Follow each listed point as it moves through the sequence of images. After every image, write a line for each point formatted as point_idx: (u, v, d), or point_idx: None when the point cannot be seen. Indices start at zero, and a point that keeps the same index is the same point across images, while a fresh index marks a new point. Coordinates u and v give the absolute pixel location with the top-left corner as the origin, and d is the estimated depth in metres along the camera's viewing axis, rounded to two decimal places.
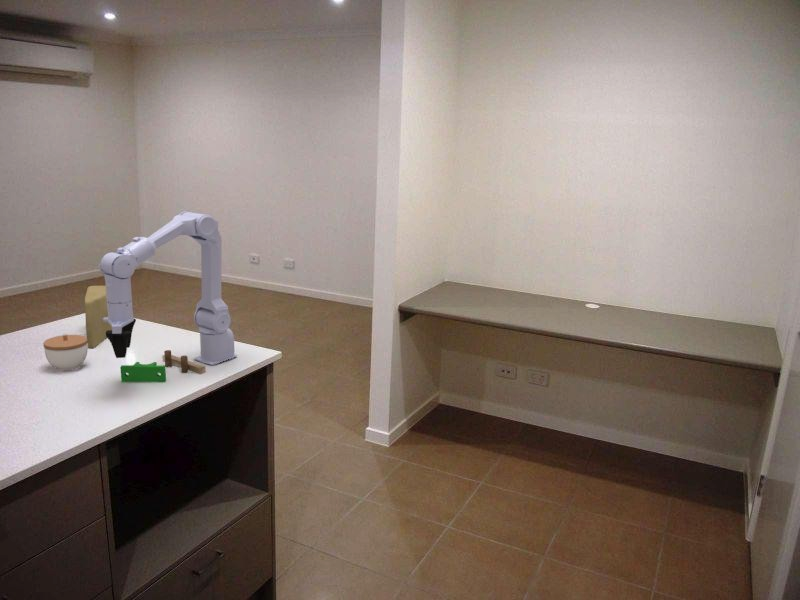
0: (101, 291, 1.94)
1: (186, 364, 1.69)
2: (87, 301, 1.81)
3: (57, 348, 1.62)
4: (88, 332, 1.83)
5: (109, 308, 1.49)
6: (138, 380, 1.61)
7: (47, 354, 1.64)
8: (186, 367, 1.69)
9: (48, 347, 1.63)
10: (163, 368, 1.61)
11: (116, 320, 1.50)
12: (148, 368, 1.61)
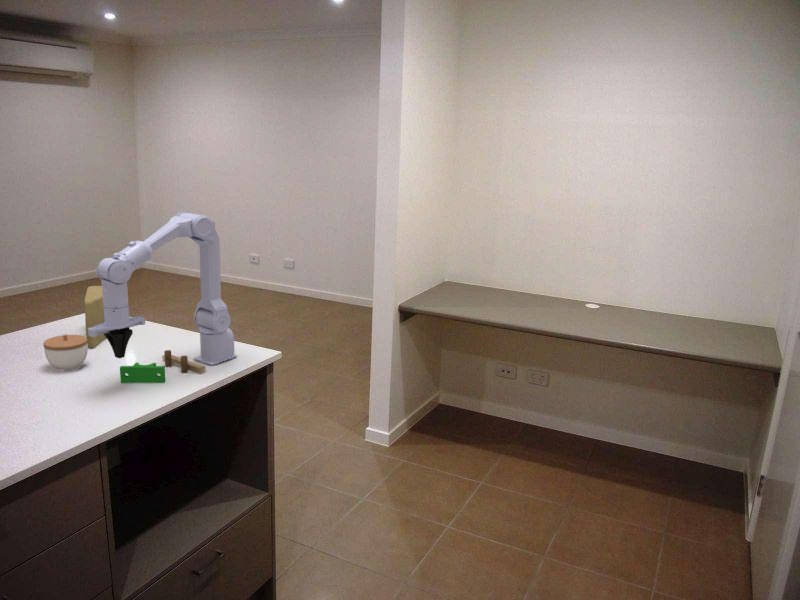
0: (101, 291, 1.94)
1: (186, 364, 1.69)
2: (87, 301, 1.81)
3: (57, 348, 1.62)
4: None
5: None
6: (137, 381, 1.61)
7: (47, 354, 1.64)
8: (186, 367, 1.69)
9: (48, 347, 1.63)
10: (162, 369, 1.61)
11: (105, 324, 1.51)
12: (147, 369, 1.60)
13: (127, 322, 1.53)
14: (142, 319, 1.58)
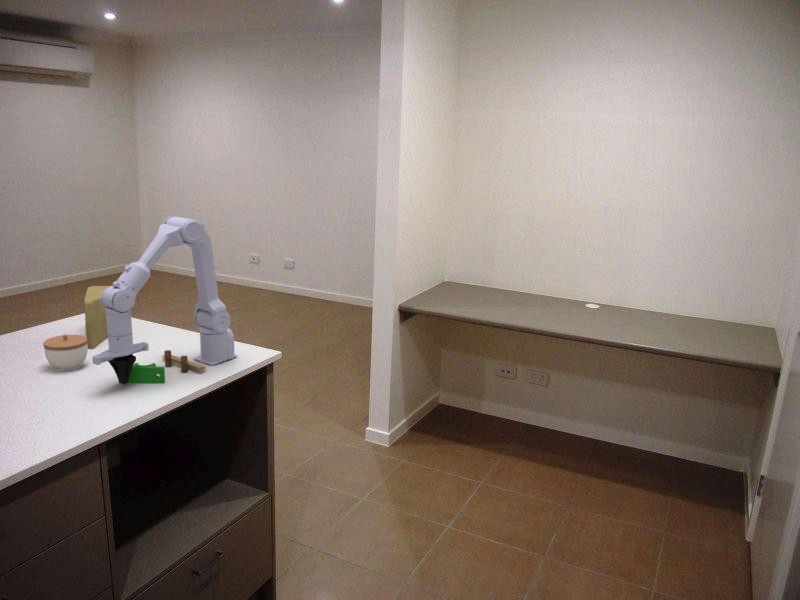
0: (101, 291, 1.94)
1: (186, 364, 1.69)
2: (87, 301, 1.81)
3: (57, 348, 1.62)
4: (88, 332, 1.82)
5: None
6: (137, 381, 1.60)
7: (47, 354, 1.64)
8: (186, 367, 1.69)
9: (48, 347, 1.63)
10: (162, 369, 1.60)
11: (109, 351, 1.53)
12: (147, 369, 1.60)
13: (131, 349, 1.55)
14: (145, 345, 1.60)
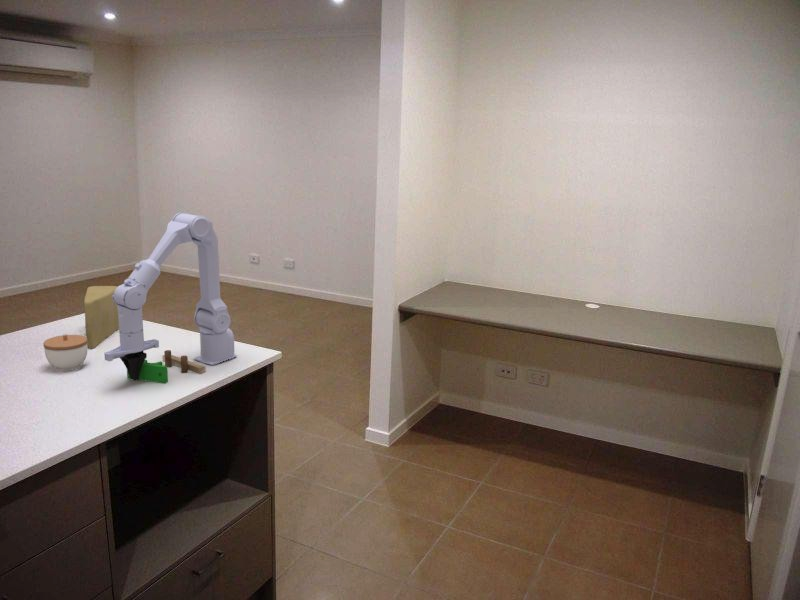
0: (101, 291, 1.94)
1: (186, 364, 1.69)
2: (87, 301, 1.81)
3: (57, 348, 1.62)
4: (88, 333, 1.82)
5: None
6: (142, 378, 1.62)
7: (47, 354, 1.64)
8: (186, 367, 1.69)
9: (48, 347, 1.63)
10: (164, 368, 1.60)
11: (121, 348, 1.56)
12: (151, 367, 1.61)
13: (142, 346, 1.57)
14: (156, 342, 1.63)
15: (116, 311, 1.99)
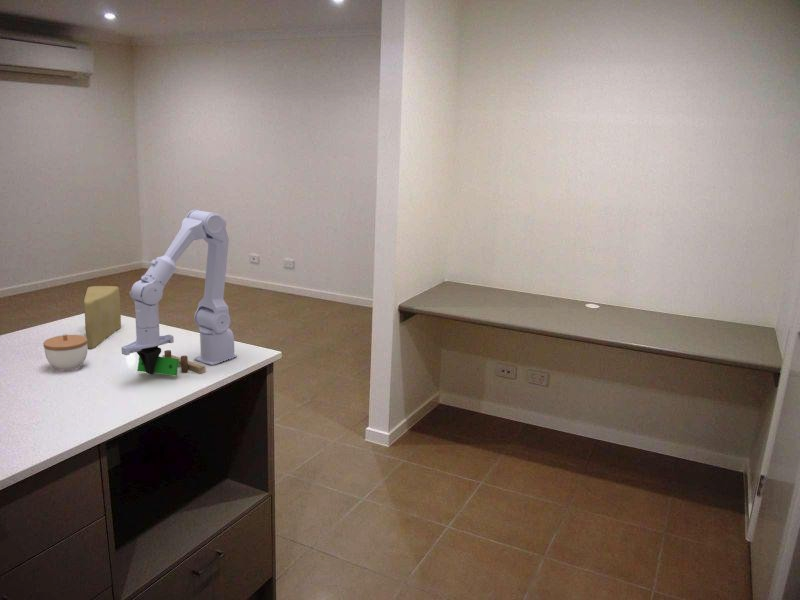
0: (101, 292, 1.94)
1: (186, 364, 1.69)
2: (86, 302, 1.81)
3: (57, 348, 1.62)
4: (87, 333, 1.82)
5: None
6: None
7: (47, 354, 1.64)
8: (186, 367, 1.69)
9: (48, 347, 1.63)
10: (176, 360, 1.64)
11: (137, 342, 1.60)
12: (163, 359, 1.64)
13: (158, 341, 1.61)
14: (171, 337, 1.67)
15: (116, 311, 1.99)
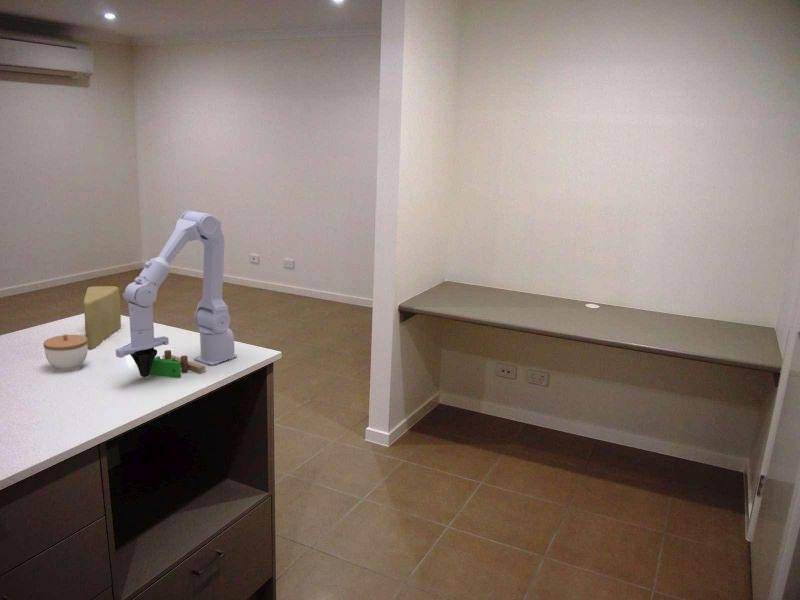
0: (101, 292, 1.93)
1: (186, 364, 1.69)
2: (86, 302, 1.81)
3: (57, 348, 1.62)
4: (87, 333, 1.82)
5: None
6: (155, 374, 1.66)
7: (47, 354, 1.64)
8: (186, 367, 1.69)
9: (48, 347, 1.63)
10: (177, 364, 1.64)
11: (132, 344, 1.58)
12: (164, 363, 1.65)
13: (152, 343, 1.60)
14: (166, 339, 1.65)
15: (116, 311, 1.99)
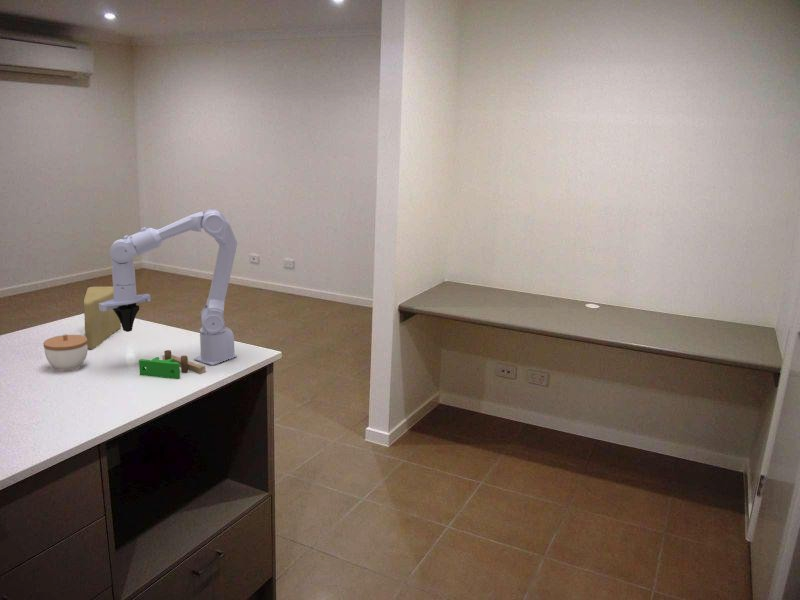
0: (101, 292, 1.93)
1: (186, 364, 1.69)
2: (86, 302, 1.80)
3: (57, 348, 1.62)
4: (87, 333, 1.81)
5: None
6: (154, 375, 1.65)
7: (47, 354, 1.64)
8: (186, 367, 1.69)
9: (48, 347, 1.63)
10: (176, 365, 1.64)
11: (114, 300, 1.65)
12: (163, 364, 1.64)
13: (134, 298, 1.67)
14: (148, 296, 1.72)
15: None
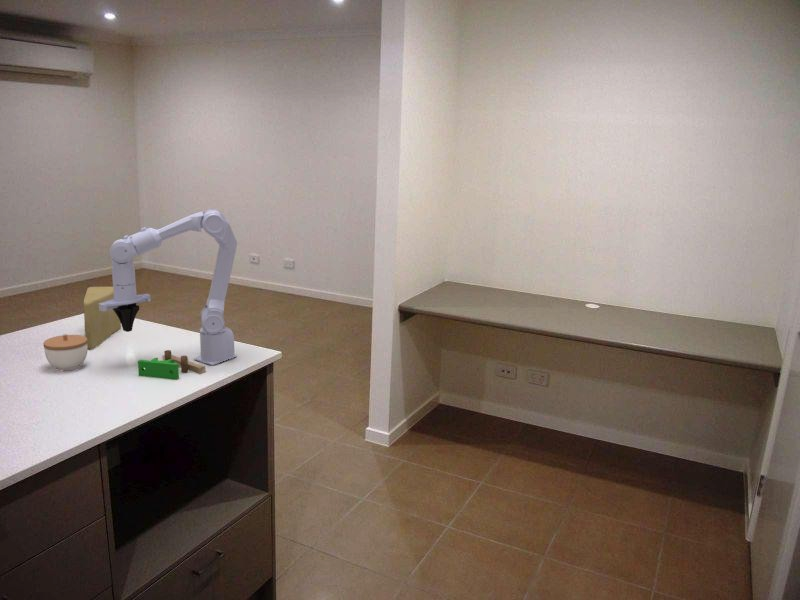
0: (101, 292, 1.93)
1: (186, 364, 1.69)
2: (86, 302, 1.80)
3: (57, 348, 1.62)
4: (87, 333, 1.81)
5: None
6: (153, 375, 1.65)
7: (47, 354, 1.64)
8: (186, 367, 1.69)
9: (48, 347, 1.63)
10: (175, 366, 1.63)
11: (114, 300, 1.65)
12: (162, 365, 1.63)
13: (134, 298, 1.67)
14: (148, 296, 1.72)
15: None
